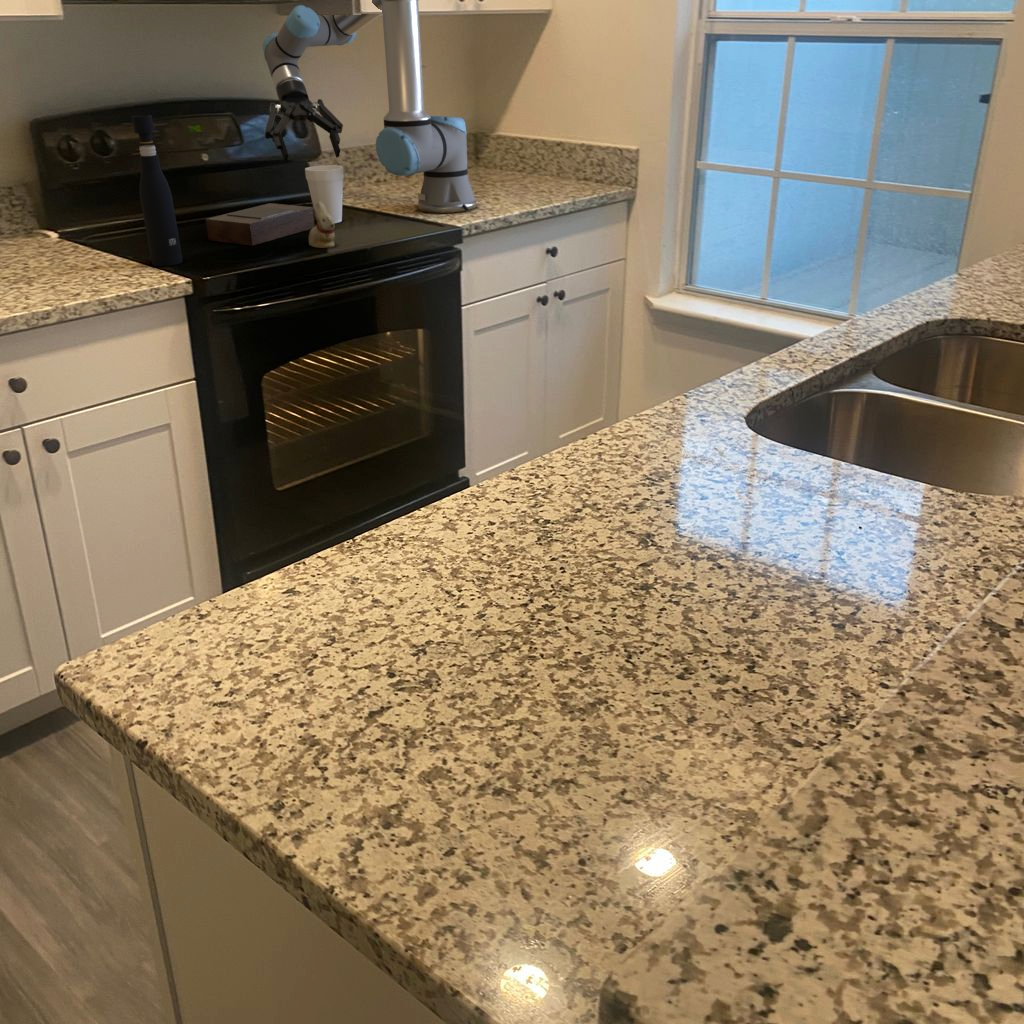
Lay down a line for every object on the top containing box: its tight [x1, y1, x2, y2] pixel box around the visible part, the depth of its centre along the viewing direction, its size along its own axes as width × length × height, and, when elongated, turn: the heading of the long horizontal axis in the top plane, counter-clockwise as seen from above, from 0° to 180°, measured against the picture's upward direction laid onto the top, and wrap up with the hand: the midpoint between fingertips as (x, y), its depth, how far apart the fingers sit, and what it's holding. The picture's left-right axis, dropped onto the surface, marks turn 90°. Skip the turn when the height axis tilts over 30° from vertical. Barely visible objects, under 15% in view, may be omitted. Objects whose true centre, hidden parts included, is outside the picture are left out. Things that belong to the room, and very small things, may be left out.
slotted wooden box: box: [205, 202, 316, 247], centre depth 247 cm, size 14×22×5 cm, turn 149°
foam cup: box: [304, 164, 345, 224], centre depth 257 cm, size 10×9×13 cm
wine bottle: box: [131, 114, 184, 267], centre depth 216 cm, size 6×6×30 cm
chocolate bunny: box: [308, 201, 336, 249], centre depth 233 cm, size 6×8×10 cm
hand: (312, 156), depth 262 cm, fingers open, 13 cm apart
